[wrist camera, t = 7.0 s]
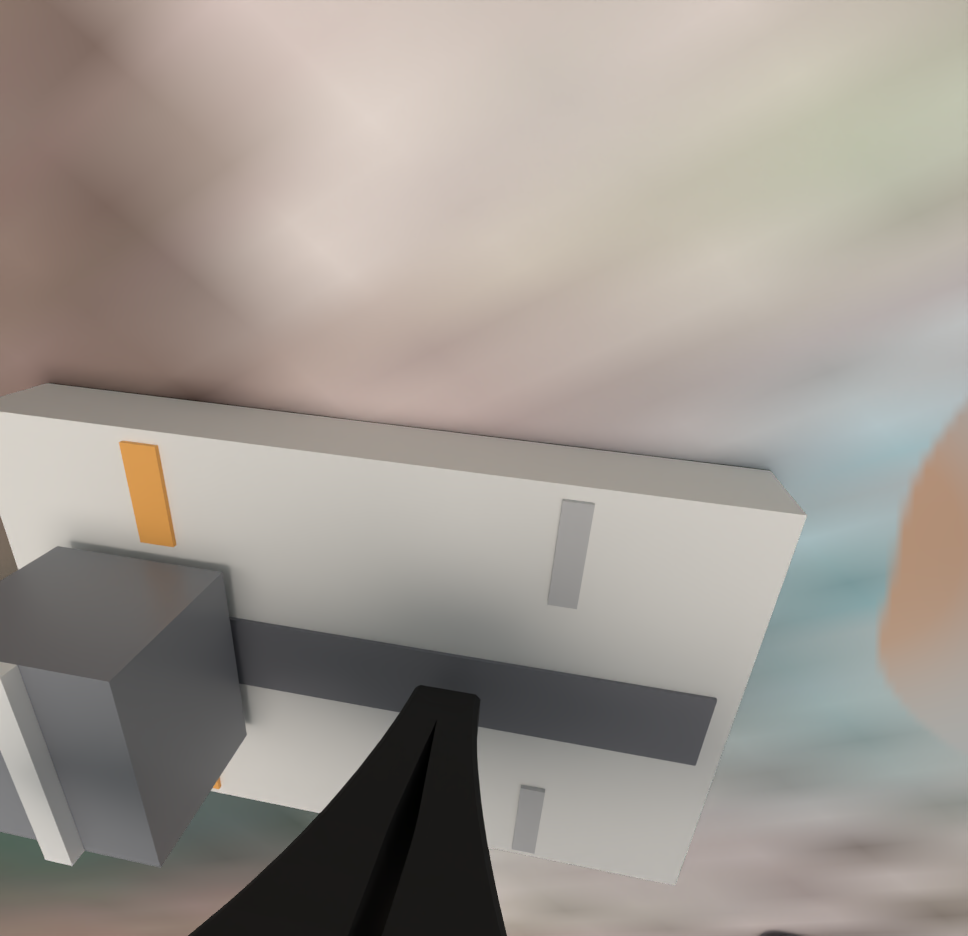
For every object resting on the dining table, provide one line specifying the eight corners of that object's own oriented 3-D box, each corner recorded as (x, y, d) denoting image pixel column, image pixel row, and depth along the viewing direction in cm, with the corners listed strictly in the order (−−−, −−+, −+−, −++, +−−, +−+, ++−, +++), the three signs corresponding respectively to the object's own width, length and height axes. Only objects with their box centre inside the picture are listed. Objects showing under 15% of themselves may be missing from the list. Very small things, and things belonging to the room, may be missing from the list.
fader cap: (222, 572, 12) (94, 695, 9) (246, 735, 14) (150, 883, 11) (57, 546, 12) (-121, 655, 9) (104, 707, 14) (-29, 842, 11)
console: (770, 470, 12) (809, 518, 10) (663, 811, 16) (675, 890, 14) (47, 383, 13) (-41, 408, 11) (132, 710, 18) (80, 767, 16)
